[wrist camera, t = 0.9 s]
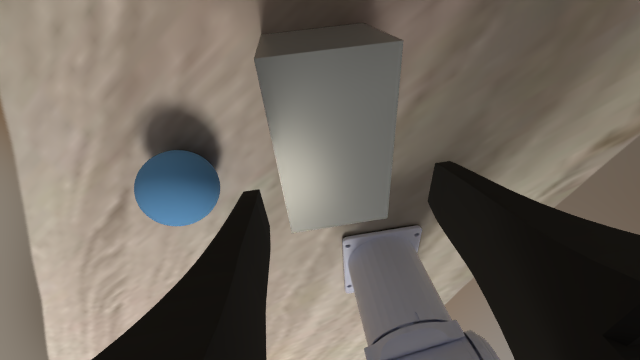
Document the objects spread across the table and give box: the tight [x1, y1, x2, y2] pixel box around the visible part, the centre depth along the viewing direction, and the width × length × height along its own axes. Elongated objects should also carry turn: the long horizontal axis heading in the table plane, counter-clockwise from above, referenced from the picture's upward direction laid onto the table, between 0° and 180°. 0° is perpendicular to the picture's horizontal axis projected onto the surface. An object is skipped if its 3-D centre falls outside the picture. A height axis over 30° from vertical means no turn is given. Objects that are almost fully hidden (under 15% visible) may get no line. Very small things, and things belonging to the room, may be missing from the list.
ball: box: [134, 150, 220, 226], centre depth 18 cm, size 5×5×5 cm
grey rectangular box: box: [254, 23, 403, 233], centre depth 16 cm, size 10×6×6 cm, turn 5°
